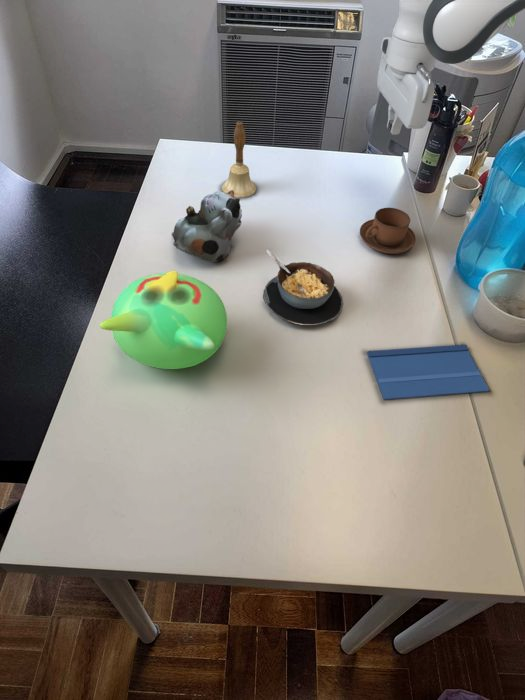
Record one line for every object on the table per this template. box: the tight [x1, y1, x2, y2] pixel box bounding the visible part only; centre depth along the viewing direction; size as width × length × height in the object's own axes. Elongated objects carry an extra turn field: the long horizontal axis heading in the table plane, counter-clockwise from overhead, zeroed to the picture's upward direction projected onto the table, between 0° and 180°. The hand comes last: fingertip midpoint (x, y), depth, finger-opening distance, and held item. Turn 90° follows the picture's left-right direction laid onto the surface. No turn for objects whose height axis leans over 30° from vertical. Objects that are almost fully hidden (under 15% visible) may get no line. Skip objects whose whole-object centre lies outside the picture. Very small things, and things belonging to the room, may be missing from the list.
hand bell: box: [221, 120, 257, 199], centre depth 108 cm, size 8×8×16 cm
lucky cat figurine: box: [170, 190, 243, 263], centre depth 94 cm, size 15×12×14 cm
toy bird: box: [99, 270, 228, 370], centre depth 74 cm, size 18×17×15 cm
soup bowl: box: [262, 249, 344, 326], centre depth 86 cm, size 15×16×7 cm
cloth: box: [366, 344, 491, 401], centre depth 79 cm, size 18×10×1 cm, turn 97°
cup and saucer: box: [359, 207, 417, 255], centre depth 101 cm, size 12×12×6 cm
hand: (392, 131), depth 95 cm, fingers closed
